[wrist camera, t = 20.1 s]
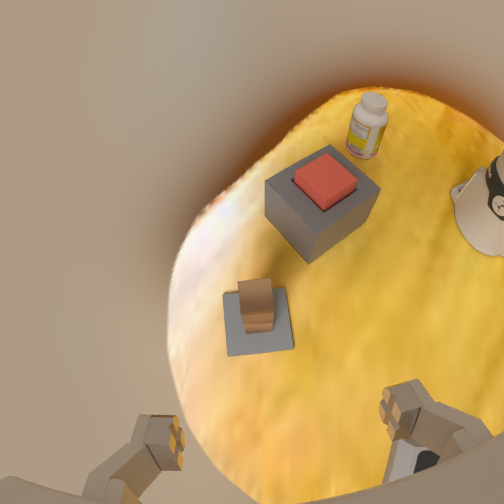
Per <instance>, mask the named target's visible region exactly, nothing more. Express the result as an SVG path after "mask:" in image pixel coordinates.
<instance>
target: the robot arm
mask: <svg viewBox="0 0 504 504" xmlns="http://www.w3.org/2000/svg"><path fill="white" fill-rule="evenodd" d="M450 194H451V197H452V200H453V202H454V206H455V217H456V221H457V224H458V226H459V229H460V230H461V232H462V234H463V235H464V237H465V238H466V239H467V241H468V242H469V243H470V244H471V245H472V246H473V247H474V248H476V249H477V250H478V251H480V252H482V253H484V254H486V255H490V256H496V255H500V256H503V257H504V150H503V152H502V153H501V155H500V156H497V157H496V158H495V159H494V160H493V161H492V162H491V164H490V165H489V167H488V169H487V170H486V168H485V167H484V166H482V167H480V168H479V169H478V170H477V171H476V172H475V173H474V175H473V177H472V178H471V179H470V180H468V181H466V182H464V183H462V184H460V185H458V186H456V187H454V188H453V189H452V190H451V191H450ZM382 396H383V398H384V399H383V400H382V401H381V402H380V406H379V412H380V417H381V420H382V422H383V423H384V424H386V425H388V428H387V432H388V434H389V436H390V438H391V440H392V442H393V441H396V440H400V439H403V438H406V437H410V436H411V438H413V439H414V440H416V441H417V442H419V443H420V444H422V445H423V446H425V447H426V448H428V449H429V450H431V451H432V452H434V453H436V454H437V455H439V456H440V459H439V461H438V462H437V464H436V465H435V466H433V467H430V468H428V469H425V470H423V471H420V472H417V473H415V474H412V475H409V476H406V477H403V478H401V479H398V480H395V481H392V482H388V483H385V484H382V485H379V486H375V487H372V488H368V489H365V490H361V491H357V492H353V493H349V494H345V495H341V496H336V497H331V498H327V499H322V500H316V501H311V502H305V503H299V504H504V431H503V432H502V433H500V434H498V435H496V436H495V437H493V436H492V434H491V433H490V432H489V430H488V429H487V427H486V426H485V425H484V423H483V422H482V421H481V419H479V418H476V417H474V416H471V415H469V414H466V413H464V412H462V411H459V410H457V409H454V408H452V407H450V406H447V405H445V404H443V403H440V402H434V400H433V399H432V397H431V396H430V394H429V393H428V392H427V390H426V389H425V387H424V386H423V385H422V383H421V382H420V380H419V379H414V380H410V381H407V382H403V383H400V384H396V385H392V386H389V387H385V388H384V389H383V392H382ZM184 447H185V438H184V433H183V430H182V428H181V427H179V419H178V417H177V416H176V415H142V414H140V415H139V416H138V418H137V421H136V425H135V428H134V431H133V435H132V438H131V442H130V444H126V445H125V446H123V447H122V448H121V449H119V450H118V451H117V452H116V453H114V454H113V455H112V456H111V457H110V458H108V459H107V460H106V461H105V462H103V463H102V464H101V465H99V466H98V467H97V468H96V469H94V470H93V471H92V472H91V473H89V475H88V478H87V481H86V484H85V487H84V490H83V493H82V496H78V495H73V494H69V493H65V492H62V491H58V490H54V489H51V488H47V487H44V486H41V485H37V484H35V483H32V482H29V481H26V480H23V479H20V478H18V477H14V476H8V477H6V478H3V479H1V480H0V504H142V503H141V502H140V501H139V500H138V498H139V497H140V496H141V494H142V493H143V492H144V491H145V490H146V489H147V487H148V486H149V485H150V484H151V483H152V482H153V481H154V480H155V478H156V477H157V476H158V475H159V474H160V473H161V471H181V470H182V463H183V457H182V455H181V452H182V451H183V450H184Z"/></svg>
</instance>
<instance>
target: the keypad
mask: <svg viewBox="0 0 504 504" xmlns="http://www.w3.org/2000/svg"><path fill="white" fill-rule="evenodd" d="M439 459H440V456H439V455H437V454H436V453H434V452H432V451H431V450H429V449H428V448H426V447H425V446H423V445H422V444H420V443H419V442H417V441H416V440H414V439H413V438H411V437H406V438H403V439H400V440H396V441H393V442H392V446H391V450H390V455H389V459H388V463H387V467H386V471H385V474H384V478H383V482H382V484H385V483H388V482H392V481H395V480H398V479H401V478H403V477H406V476H409V475H412V474H415V473H417V472H420V471H423V470H425V469H428V468H430V467H433V466H435V465H436V464H437V462H438V461H439Z"/></svg>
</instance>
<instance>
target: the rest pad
mask: <svg viewBox="0 0 504 504" xmlns="http://www.w3.org/2000/svg"><path fill="white" fill-rule="evenodd" d="M272 293H273V300H274V307H275V311H274V320H273V328H272V332H265V333H256V334H247V335H246V333H245V329H244V325H243V321H242V317H241V312H240V302H239V293H232V294H223V307H224V319H225V331H226V342H227V354H228V357H229V356H240V355H249V354H259V353H267V352H276V351H284V350H291V349H294V347H293V340H292V333H291V326H290V320H289V313H288V306H287V299H286V293H285V288H277V289H272Z"/></svg>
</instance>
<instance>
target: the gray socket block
mask: <svg viewBox="0 0 504 504" xmlns="http://www.w3.org/2000/svg"><path fill="white" fill-rule="evenodd" d="M326 153H328V154H329V155H330V156H332V157H333V158H334V159H335V160H336V161H337V162H339V163H340V164H341V165H342V166H343V167H344V168H345V169H346V170H348V171H349V172H350V173H351V174H352V175H353V176H354V177H355V178H356V179H358V181H357V184H356V186H355V189H354V192H353V193H352V194H351V195H349V196H348V197H346V198H345V199H343V200H342V201H340V202H339V203H338V204H336V205H335V206H333V207H332V208H330V209H329V210H327V211H326V212H324V213H323V212H322V211H321V210H320V209H319V208H318V207H317V206H316V205H315V204H314V203H313V202H312V201H311V200H310V199H309V198H308V197H307V196H306V195H305V194H304V193H303V192H302V191H301V190H300V189H299V188H298V187H297V186H296V185H295V184H294V178H295V171H296V170H298V169H300V168H301V167H303V166H305V165H307V164H308V163H310V162H312V161H314V160H315V159H317V158H319V157H321V156H323V155H324V154H326ZM380 190H381V189H380V188H379V187H378V186H377V185H376V184H375V183H374V182H373V181H372V180H371V179H369V178H368V177H367V176H366V175H365V174H364V173H363V172H362V171H361V170H359V169H358V168H357V167H356V166H355V165H354V164H353V163H351V162H350V161H349V160H348V159H347V158H346V157H344V156H343V155H342V154H341V153H340V152H339V151H337V150H336V149H335V148H334V147H333V146H331V145H328V146H326V147H324V148H322V149H320V150H319V151H317V152H315V153H313V154H311V155H309V156H308V157H306V158H304V159H302V160H300V161H299V162H297V163H295V164H293V165H292V166H290V167H288V168H286V169H284V170H283V171H281V172H279V173H277V174H276V175H274V176H272V177H270V178H269V179H267V180H265V216H266V218H267V219H268V220H269V221H270V222H271V223H272V224H273V225H274V226H275V227H276V229H277V230H278V231H279V232H280V233H281V234H282V235H283V236H284V238H285V239H286V240H287V241H288V242H289V243H290V244H291V245H292V246H293V248H294V249H295V250H296V251H297V252H298V253H299V254H300V255H301V257H302V258H303V259H304V260H305V261H306V262H307V263H308V265H309V264H310V263H311V262H313V261H314V260H315V259H317V258H318V257H319V256H321V255H322V254H324V253H325V252H326V251H328V250H329V249H330V248H332V247H333V246H334V245H336V244H337V243H338V242H340V241H341V240H342V239H344V238H345V237H346V236H348V235H349V234H350V233H351V232H353V231H354V230H355V229H357V228H358V227H359V226H361V225H362V224H363V223H365V222H366V220H367V218H368V216H369V214H370V212H371V210H372V207H373V205H374V203H375V201H376V199H377V197H378V195H379V193H380Z"/></svg>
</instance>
